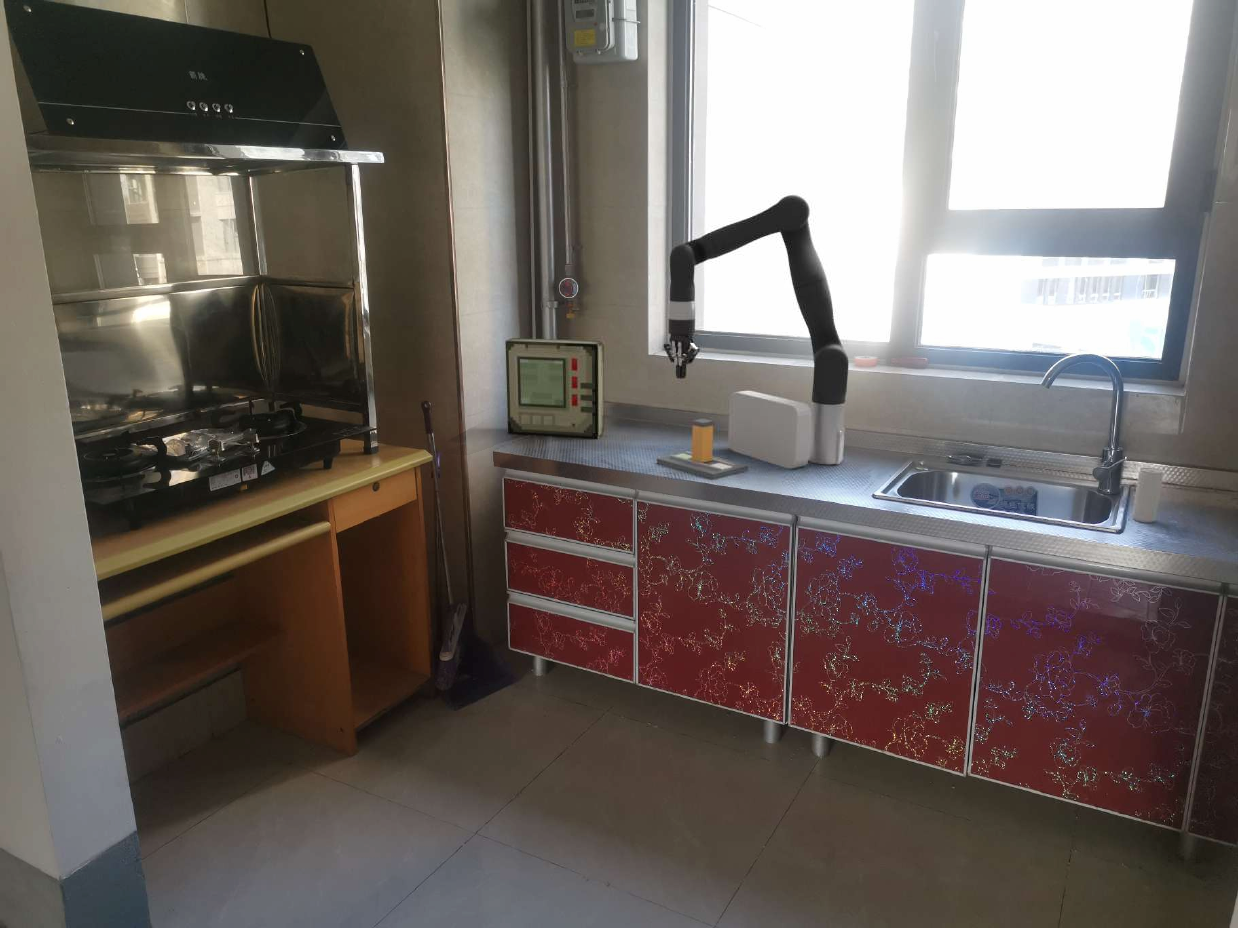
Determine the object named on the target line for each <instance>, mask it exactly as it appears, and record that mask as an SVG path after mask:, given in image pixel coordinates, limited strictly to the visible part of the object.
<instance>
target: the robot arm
mask: <svg viewBox="0 0 1238 928" xmlns="http://www.w3.org/2000/svg"><path fill="white" fill-rule="evenodd" d="M810 209H811V208H810V206H809V203H808V202H807V201H806V199H805V198H804V197H802V196H800V195H797V194H789V195H786V196H784V197H782V198H781V199H779V200H778V202H776V203H775V204H773V205H772V206H770V207H769V208H767V209H765V210H763V211H760V212H759V213H757V214H755V215H753V216H751V217H747V218H745V219H742V220H739V221H736V222H732V223H730V224H727V225H725V226H722V227H720V228H717V229H714V230H713V231H712V230H711V231H710V232H708V233H706V234H703V236H701V237H699V238H694V239H693V240H692V239H691V240H689V241H687V242H684V243H681V244H678V245H677V246H675V247H674V248H673V249H672V250H671V251H670V254H669V275H670V278H669V279H670V285H669V305H668V329H667V330H668V331H667V332H668V334H669V335H670V336H669V341H668V342H667V343H664V344H663V348H664V350H665V353H666V355H667V358H668V359H669V361H670V362H671V363H673V364H674V365H675V377H676V379H681V380H683V379H685V378H686V377H687V366H688V365H690V364H691V365H692V363H693V362H694V360H695V358H696V357H697V355H698V354H699V352H700V350H701V348H700V347H699V346H696V345H695V340H694V336H693V335H694V334H695V333H696V303H695V302H696V301H695V299H696V296H695V295H696V293H695V292H696V286H695V269H696V268H695V267H696V266H697V265H700V264H702V263H704V262H706V261H708V260H713V259H716V258H719V257H721V256H724V255H726V254H730V253H731V252H734V251H736V250H738V249H740V248H743V247H744V246H746V245H748V244H750V243H753V242H754V241H757V240H760V239H762V238H765V237H767V236H771V235H774V234H778V233H780V235H781V237H782V241H783V242H784V246H785V250H786V253H787V261H788V267H789V273H790V277H791V283H792V287H793V291H794V295H795V298H796V302H797V305H798V308H799V310H800V313H801V316H802V318H803V321H804V323H805V324H806V327H807V330H808V334H809V337H810V343H811V348H812V354H813V365H814V366H813V378H812V379H813V383H812V390H811V391H812V392H811V406H810V409H811V429H810V446H809V460H808V462H811V463H814V464H818V465H840V464H841V462H842V461H843V460H844V457H843V456H844V443H845V433H846V427H844V423H845V421H844V420H845V411H846V410H845V408H846V406H845V405H846V396H847V389H848V377H849V357H848V355H847V353H846V351H845V349H844V347H843V345H842V342H841V340H840V336H839V334H838V332H837V331H838V330H837V328H836V323H835V320H834V310H833V309H834V307H833V300H832V294H831V289H830V286H829V283H828V282H829V281H828V279H827V275H826V272H825V269H824V267H823V264H822V261H821V259H820V257H819V255H818V252H817V251H816V249H815V246H814V242H813V239H812V235H811V229H810V224H809V217H810V213H811V212H810Z"/></svg>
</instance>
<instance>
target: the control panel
mask: <svg viewBox="0 0 1238 928" xmlns="http://www.w3.org/2000/svg"><path fill="white" fill-rule="evenodd" d="M505 368H506V369H505V370H506V371H505V372H506V375H505V376H506V378H505V379H506V403H507V404H506V405H507V407H506V408H507V435H516V436H517V435H520V436H534V437H535V436H537V437H552V438H569V439H571V438H572V439H583V440H599V439H600V438H601V437H603V436H604V435H605V341H604V340H586V339H585V340H583V339H582V340H581V339H556V338H555V339H550V338H525V337H522V338H521V337H512V338H510V339H507V340H505Z"/></svg>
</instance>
